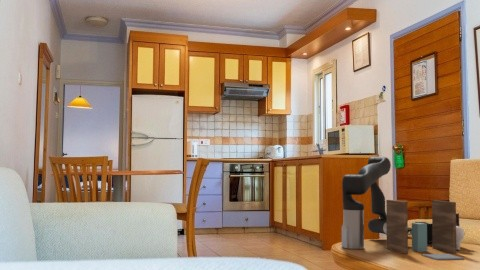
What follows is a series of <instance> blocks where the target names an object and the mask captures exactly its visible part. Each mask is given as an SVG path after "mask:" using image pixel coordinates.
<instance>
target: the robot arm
mask: <svg viewBox="0 0 480 270" xmlns="http://www.w3.org/2000/svg"><path fill="white" fill-rule="evenodd" d="M367 160H368V161H367V164H366V165H364V166H363V167H361V168H360V169H359V171H358V173H357V174H345V175H343V177H342V181H341V187H342V190H341V191H342V206H343V207H342V209H343V210H342V211H343V212H342V214H343V215H342V217H343V221H342V222H343V223H342V225H341V248H344V249H350V250H362V249H363V250H364V249H365V210H364V209H365V204H364V203H362V202H360V201H358V200H356V199H355V198H353V196H354V195H355V196H360V195H361V196H363V195H364V194H366V193H367V192H368V190H369V189H370V197H371V198H370V199H371V213H372V214H373V215H377V216H378V217H379V218H371V219H370V220H369V221H368V223H367V229H368V230H369V231H370V232H371V233H374V234H382V235H386V236H387V215H386V197H385V194H384V192H383V191H382V189H381V188H380V186H379V184H378V182H377V181H378V180H379V179H380V178H382V177H383V176H385V175H387V174H388V173H389V172H390V170H391V166H392V165H391V161H390V159H389V158H388V157H386V156H371V157H369V158H368V159H367ZM408 236H412V227H408Z"/></svg>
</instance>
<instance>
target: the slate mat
mask: <svg viewBox="0 0 480 270" xmlns="http://www.w3.org/2000/svg"><path fill="white" fill-rule="evenodd" d="M421 256H422V257H424V258H429V259H431V260H435V261H460V260H461V261H462V260H463V259H464V260H465V258H464V257H461V256H457V255H455V254H450V253H422V254H421Z"/></svg>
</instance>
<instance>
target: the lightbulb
mask: <svg viewBox="0 0 480 270" xmlns="http://www.w3.org/2000/svg"><path fill="white" fill-rule="evenodd" d="M464 237H465V230H464V228H463V227H462V226H460V225H459V226H456V250H458V251H461V243H462V241H463V239H464Z"/></svg>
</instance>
